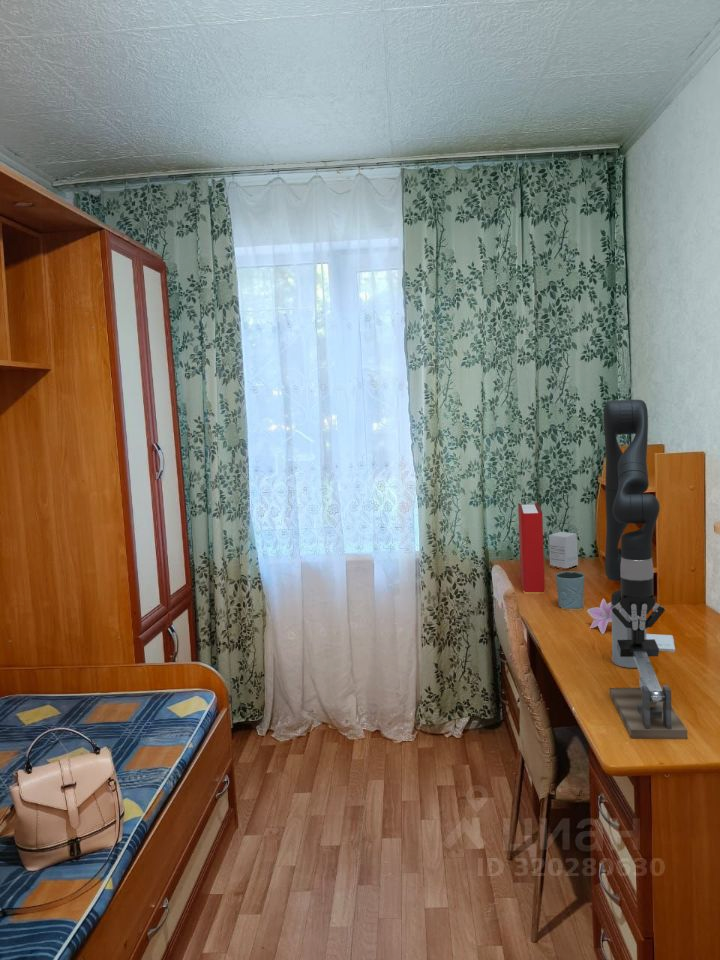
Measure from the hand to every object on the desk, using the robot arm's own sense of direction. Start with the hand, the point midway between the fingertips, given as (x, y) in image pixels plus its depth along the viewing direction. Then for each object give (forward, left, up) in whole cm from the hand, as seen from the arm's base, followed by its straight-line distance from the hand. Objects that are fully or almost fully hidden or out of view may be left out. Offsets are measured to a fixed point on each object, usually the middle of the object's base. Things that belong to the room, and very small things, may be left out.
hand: (637, 643), depth 183 cm
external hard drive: (-43, +16, -16) cm, 49 cm away
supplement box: (-145, +2, -16) cm, 146 cm away
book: (-115, -15, -16) cm, 117 cm away
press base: (+7, 0, -16) cm, 17 cm away
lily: (-59, +3, -16) cm, 61 cm away
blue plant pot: (-84, -4, -16) cm, 86 cm away
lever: (+7, 0, -6) cm, 10 cm away
